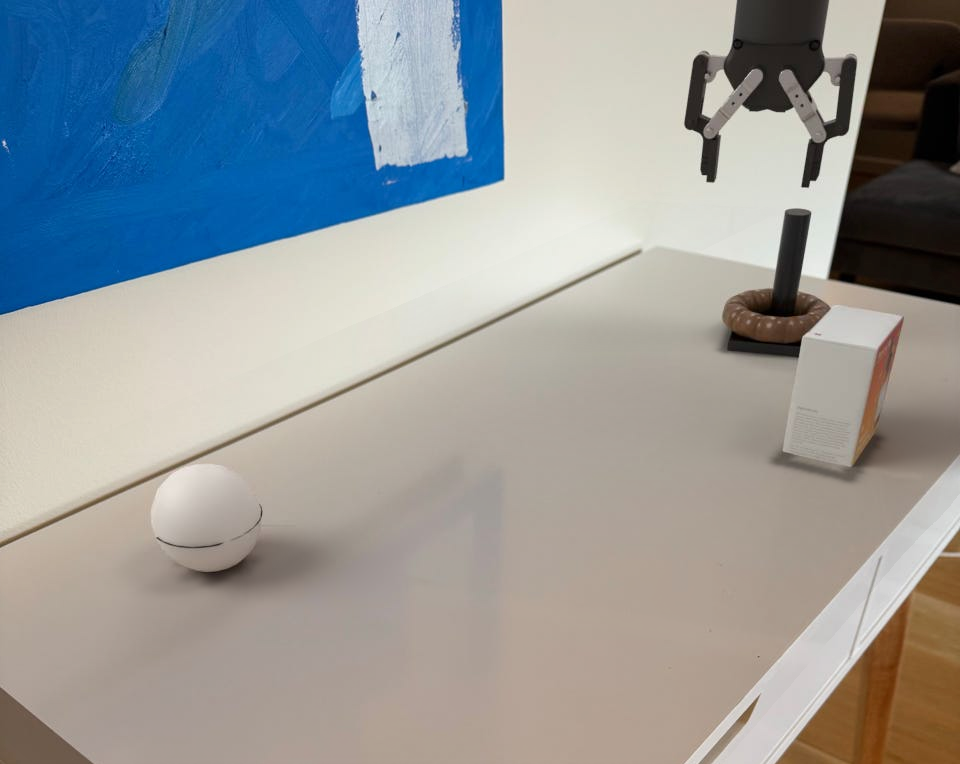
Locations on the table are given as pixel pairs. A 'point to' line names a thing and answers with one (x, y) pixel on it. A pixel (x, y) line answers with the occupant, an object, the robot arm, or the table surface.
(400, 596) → the table surface
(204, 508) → the seamed sphere
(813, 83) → the robot arm
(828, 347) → the small box
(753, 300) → the brown ribbed ring
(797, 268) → the stand
